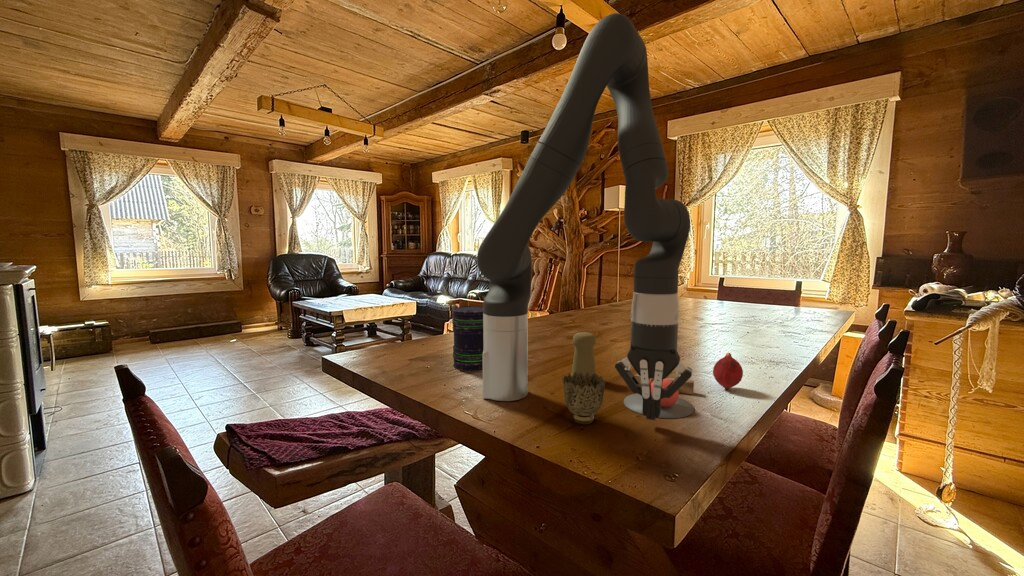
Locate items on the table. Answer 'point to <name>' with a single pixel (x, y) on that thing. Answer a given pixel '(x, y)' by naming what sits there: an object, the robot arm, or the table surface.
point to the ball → (666, 401)
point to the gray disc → (674, 411)
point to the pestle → (583, 353)
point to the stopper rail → (685, 388)
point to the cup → (583, 395)
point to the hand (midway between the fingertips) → (651, 418)
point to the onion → (727, 371)
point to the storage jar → (468, 338)
